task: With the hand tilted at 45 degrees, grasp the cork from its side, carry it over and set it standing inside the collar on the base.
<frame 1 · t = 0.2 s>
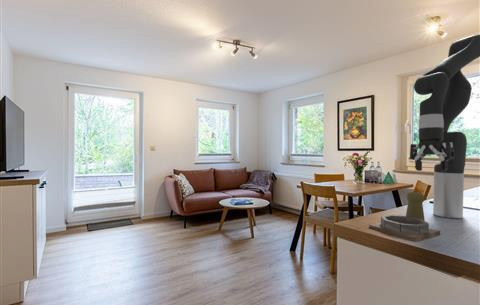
hand: (430, 171, 96), 18 cm above the table, tool pointing down, fingers open, 8 cm apart
cork: (414, 224, 90), on the table
socket base: (403, 230, 82), on the table
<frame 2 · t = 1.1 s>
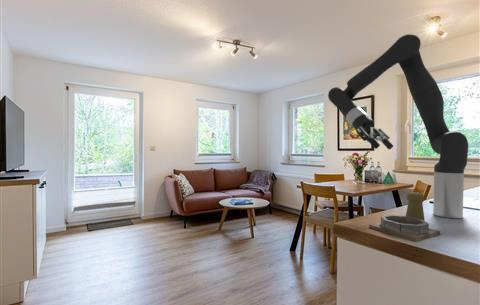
hand: (384, 147, 100), 27 cm above the table, tool tilted 45°, fingers open, 8 cm apart
nothing on the table moved.
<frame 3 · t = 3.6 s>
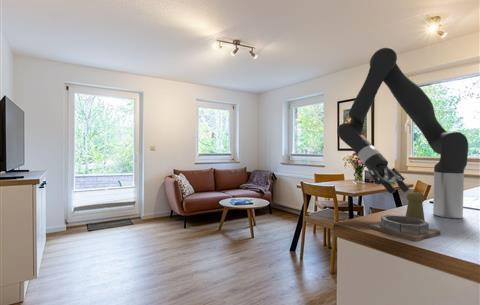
hand: (400, 191, 95), 11 cm above the table, tool tilted 45°, fingers open, 8 cm apart
nothing on the table moved.
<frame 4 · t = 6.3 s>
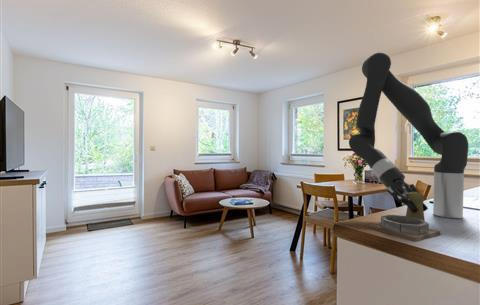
hand: (420, 210, 89), 5 cm above the table, tool tilted 45°, fingers closed on cork, 5 cm apart
cork: (414, 224, 90), on the table, touching gripper
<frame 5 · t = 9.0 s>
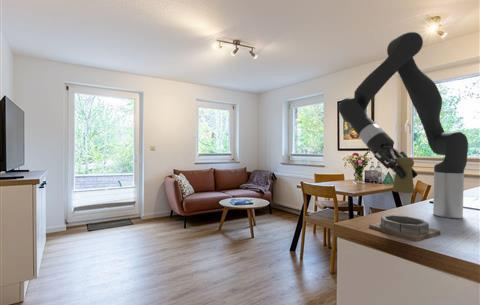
hand: (409, 176, 81), 17 cm above the table, tool tilted 45°, fingers closed on cork, 5 cm apart
cork: (403, 192, 83), point 12 cm above the table, touching gripper
when the fingers open (7 cm above the table, at t = 11.9 s): cork drops 1 cm, resting on socket base.
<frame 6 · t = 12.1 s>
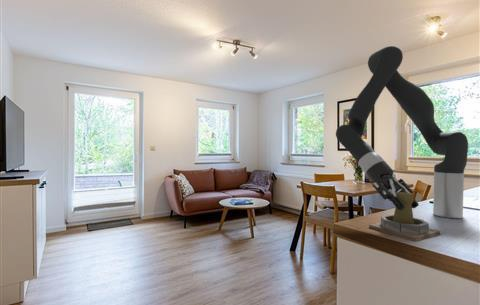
hand: (409, 207, 81), 8 cm above the table, tool tilted 45°, fingers open, 6 cm apart
cork: (403, 227, 83), point 1 cm above the table, touching socket base
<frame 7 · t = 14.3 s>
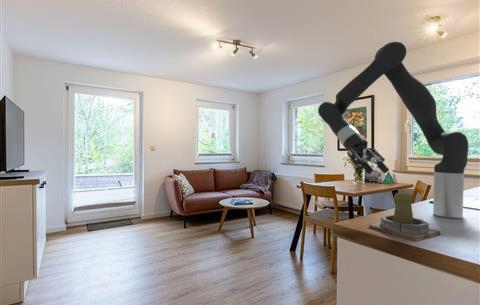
hand: (379, 172, 90), 18 cm above the table, tool tilted 45°, fingers open, 8 cm apart
nothing on the table moved.
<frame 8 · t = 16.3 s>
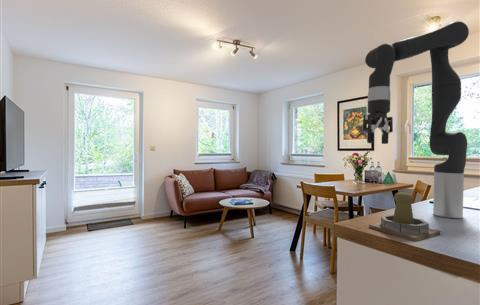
hand: (377, 143, 97), 28 cm above the table, tool pointing down, fingers open, 8 cm apart
nothing on the table moved.
at the end: cork 0.4 cm off-centre on the socket base, point 0.8 cm above the socket base's base; cork tilted 0°; the gripper is holding nothing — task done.
